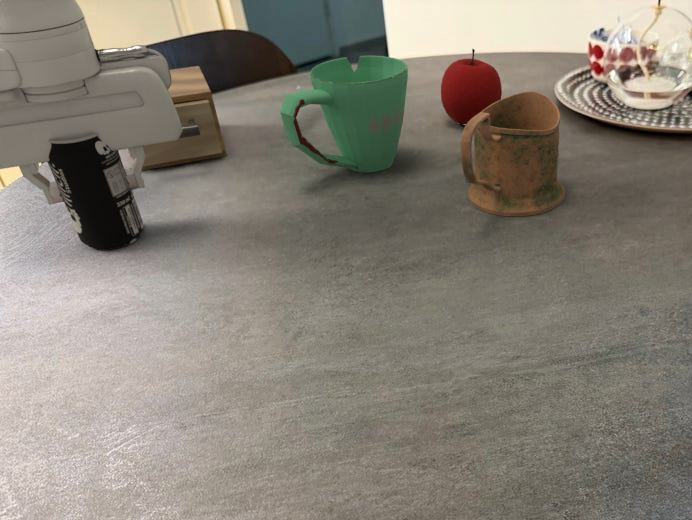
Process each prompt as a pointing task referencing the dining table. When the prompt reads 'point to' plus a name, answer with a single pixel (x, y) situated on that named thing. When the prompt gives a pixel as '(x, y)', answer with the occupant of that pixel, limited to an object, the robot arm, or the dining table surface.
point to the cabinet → (188, 88)
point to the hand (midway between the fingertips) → (97, 194)
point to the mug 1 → (354, 111)
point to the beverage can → (95, 192)
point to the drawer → (188, 135)
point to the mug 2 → (514, 156)
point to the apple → (469, 88)
